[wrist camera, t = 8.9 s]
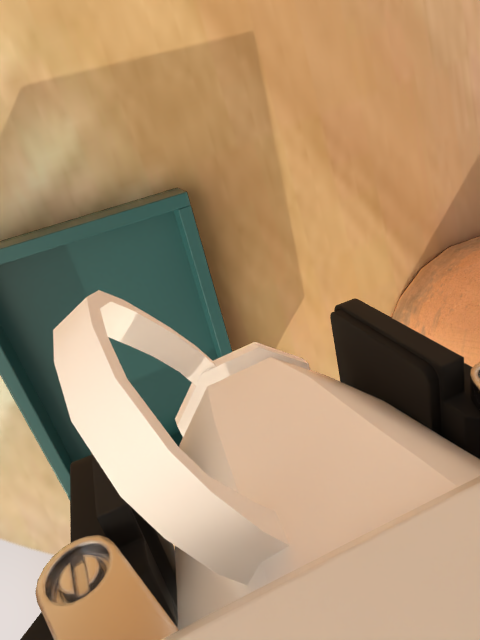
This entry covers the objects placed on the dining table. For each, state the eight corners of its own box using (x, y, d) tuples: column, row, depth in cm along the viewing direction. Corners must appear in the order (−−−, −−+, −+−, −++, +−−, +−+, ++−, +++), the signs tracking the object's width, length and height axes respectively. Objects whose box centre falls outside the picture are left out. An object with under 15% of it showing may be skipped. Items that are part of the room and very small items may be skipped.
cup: (239, 539, 15) (375, 892, 8) (-33, 365, 11) (-268, 829, 4) (392, 393, 15) (671, 625, 8) (182, 150, 10) (398, 182, 3)
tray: (-49, 255, 26) (-61, 267, 24) (177, 187, 29) (187, 191, 27) (71, 480, 34) (72, 505, 31) (242, 409, 36) (253, 427, 34)
